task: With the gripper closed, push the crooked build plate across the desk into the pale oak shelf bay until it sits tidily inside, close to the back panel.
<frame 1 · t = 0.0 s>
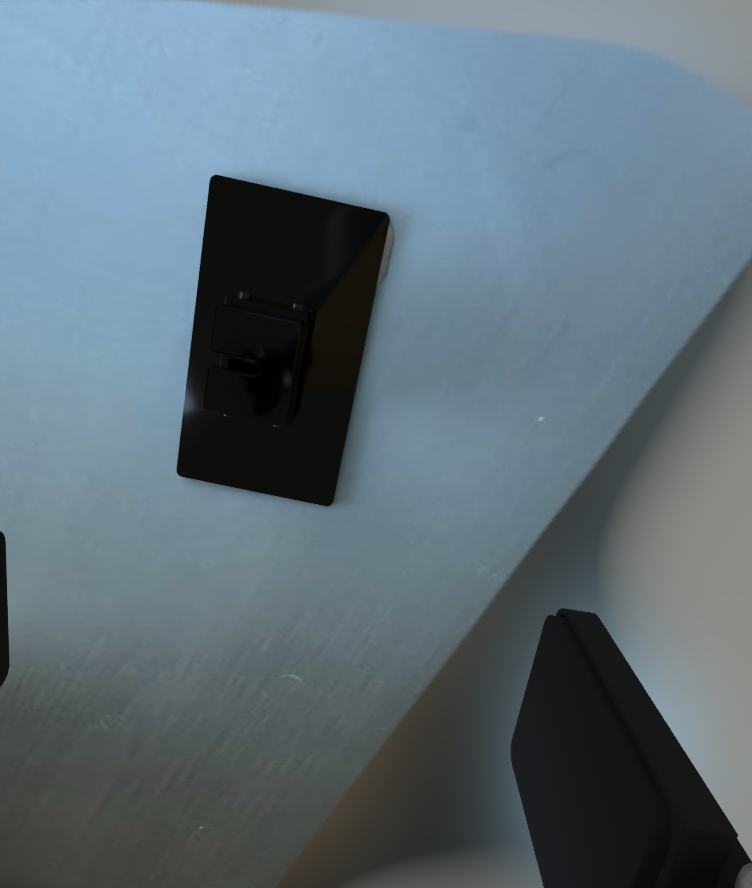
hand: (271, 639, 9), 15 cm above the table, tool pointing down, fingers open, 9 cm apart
build plate: (278, 352, 23), on the table
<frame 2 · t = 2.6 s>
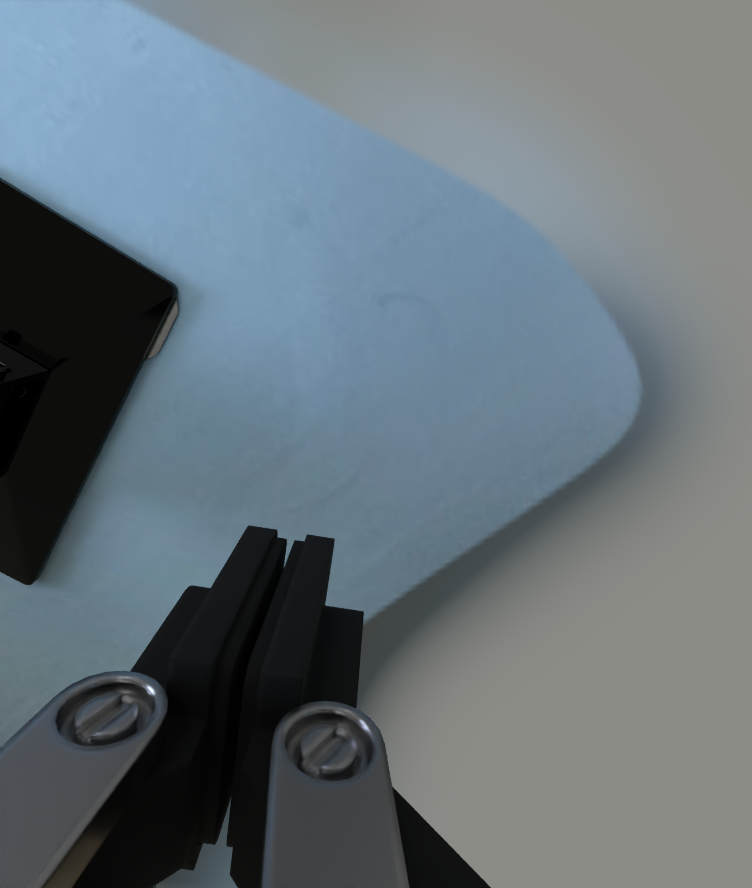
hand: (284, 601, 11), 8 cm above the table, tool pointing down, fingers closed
build plate: (9, 393, 18), on the table
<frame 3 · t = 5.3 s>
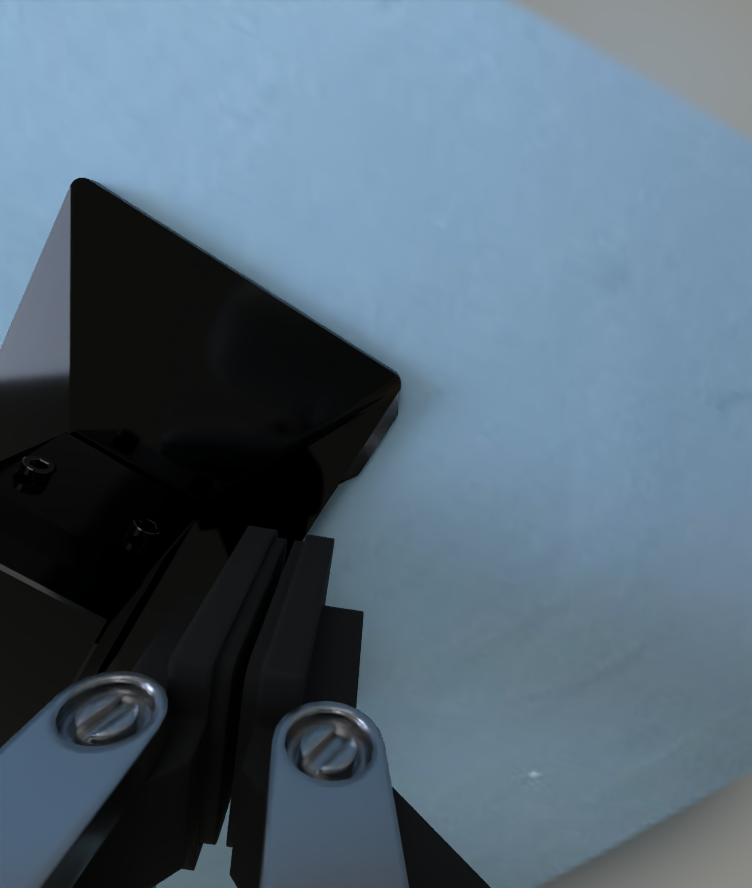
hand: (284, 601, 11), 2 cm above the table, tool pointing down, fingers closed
build plate: (121, 526, 12), on the table, touching gripper
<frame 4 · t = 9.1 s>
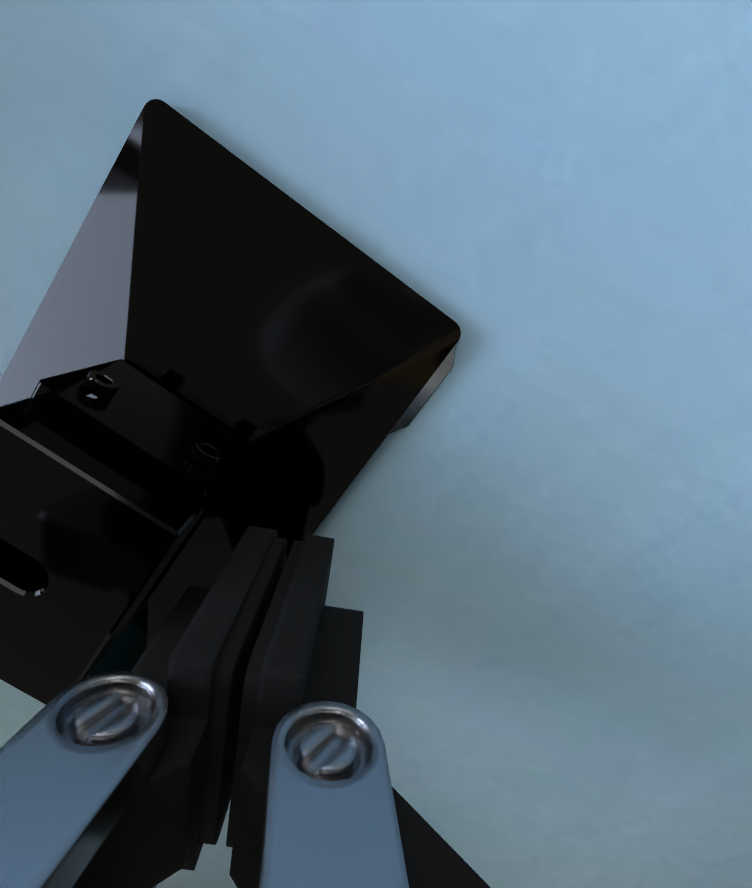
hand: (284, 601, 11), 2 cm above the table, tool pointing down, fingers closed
build plate: (162, 466, 12), on the table, touching gripper
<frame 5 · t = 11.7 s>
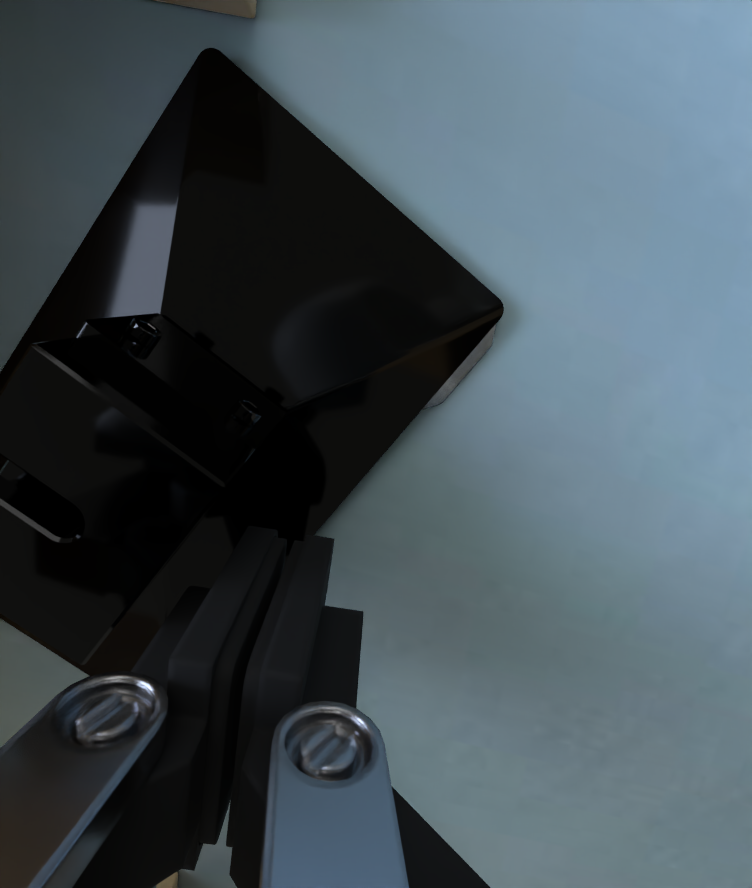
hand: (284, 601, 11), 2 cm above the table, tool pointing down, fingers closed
build plate: (186, 430, 12), on the table, touching gripper
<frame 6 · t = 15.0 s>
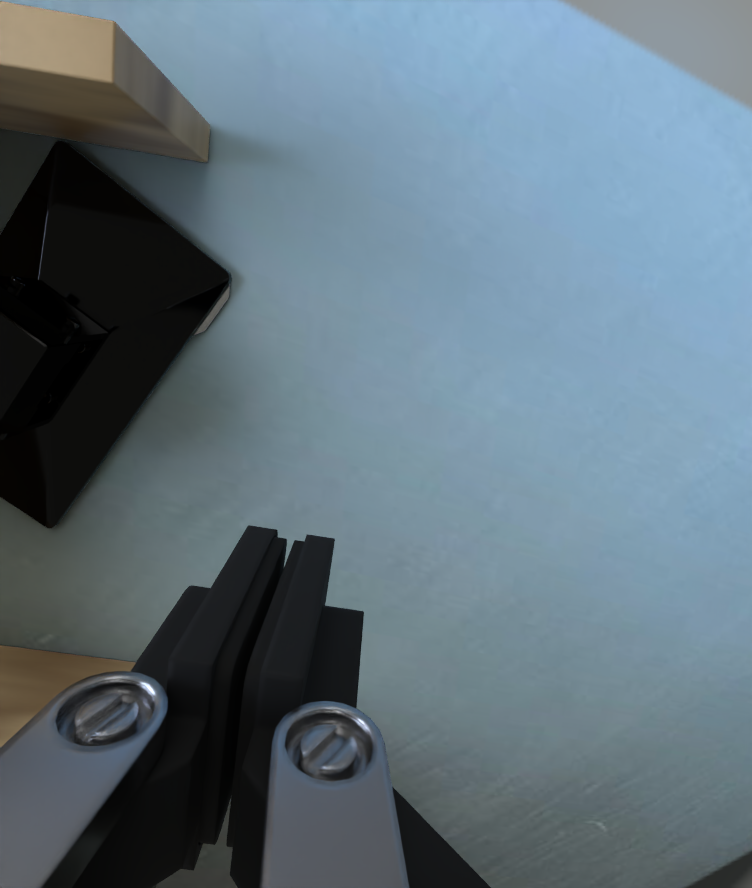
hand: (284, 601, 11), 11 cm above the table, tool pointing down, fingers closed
build plate: (62, 350, 20), on the table
shelf bay: (44, 423, 21), on the table
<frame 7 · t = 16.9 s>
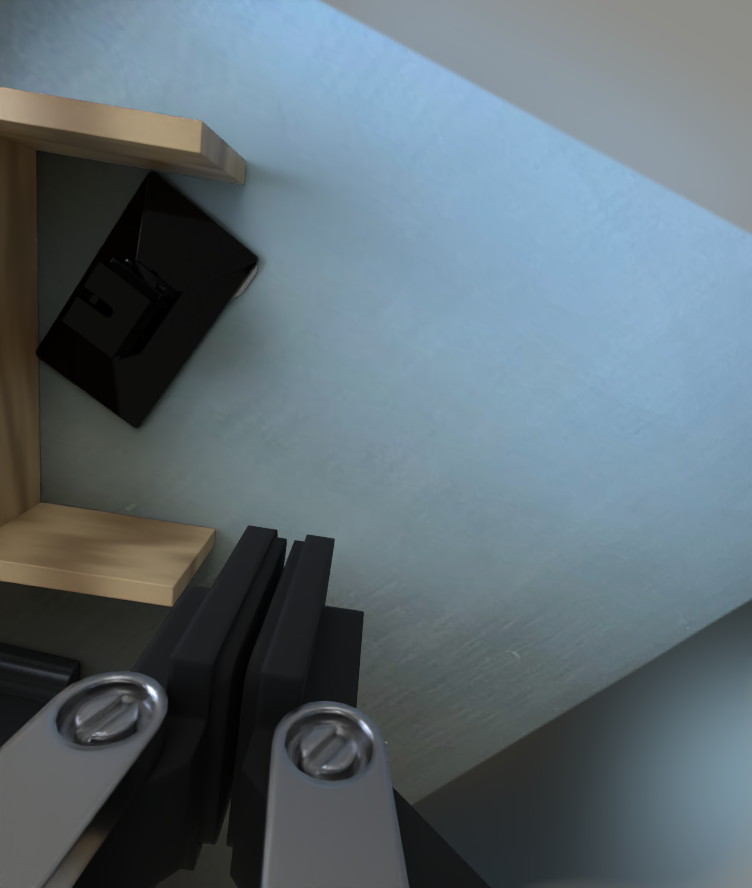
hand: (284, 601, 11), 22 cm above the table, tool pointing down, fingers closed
build plate: (147, 307, 31), on the table
shelf bay: (134, 356, 32), on the table
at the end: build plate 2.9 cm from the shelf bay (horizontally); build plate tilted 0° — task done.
